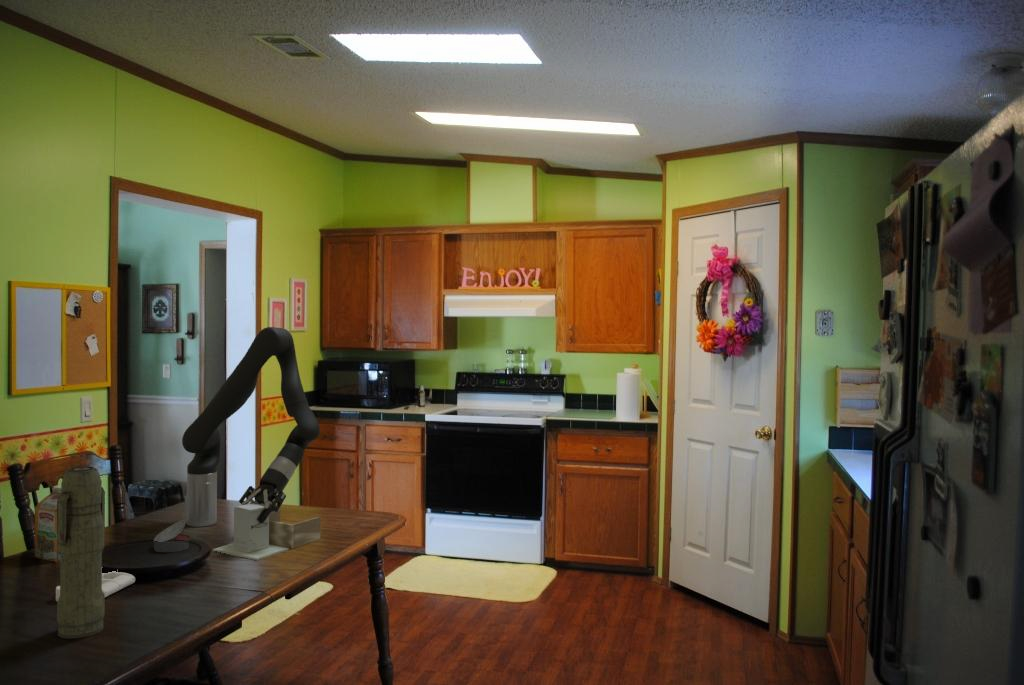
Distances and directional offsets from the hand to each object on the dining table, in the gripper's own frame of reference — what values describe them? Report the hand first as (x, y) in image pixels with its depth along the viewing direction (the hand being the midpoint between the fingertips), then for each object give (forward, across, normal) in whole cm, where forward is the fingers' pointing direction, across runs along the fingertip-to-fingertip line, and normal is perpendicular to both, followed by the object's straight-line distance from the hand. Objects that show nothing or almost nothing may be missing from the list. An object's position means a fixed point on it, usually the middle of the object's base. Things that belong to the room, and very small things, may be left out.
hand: (249, 519), depth 225 cm
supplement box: (+6, 0, +7) cm, 9 cm away
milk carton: (+27, -42, -14) cm, 52 cm away
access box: (-4, 0, +17) cm, 17 cm away
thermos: (+49, +15, -36) cm, 63 cm away
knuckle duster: (+38, -7, -24) cm, 45 cm away
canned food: (+13, -22, 0) cm, 26 cm away
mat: (+6, 0, +7) cm, 9 cm away
